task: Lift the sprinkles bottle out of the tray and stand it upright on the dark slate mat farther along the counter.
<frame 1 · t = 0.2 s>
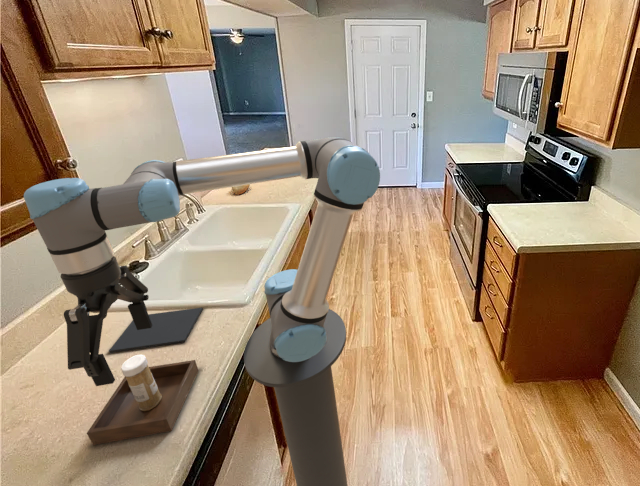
hand: (127, 352, 66), 22 cm above the worktop, tool pointing down, fingers open, 13 cm apart
tray: (151, 403, 79), on the worktop
sprinkles bottle: (151, 403, 79), resting on tray
mat: (159, 329, 102), on the worktop
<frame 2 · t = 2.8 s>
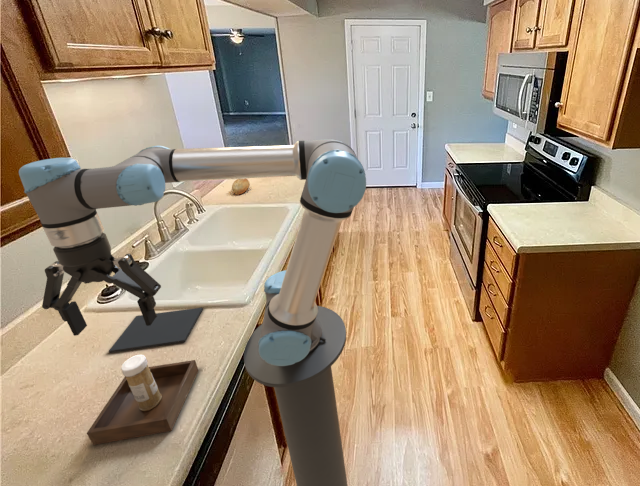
hand: (116, 325, 70), 25 cm above the worktop, tool pointing down, fingers open, 13 cm apart
nothing on the worktop moved.
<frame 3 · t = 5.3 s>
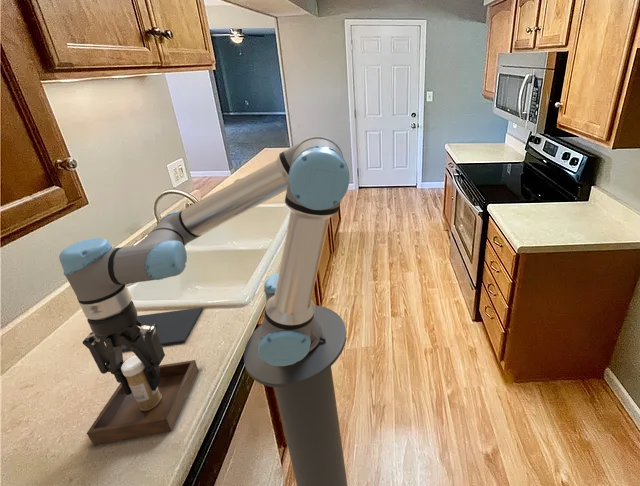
hand: (144, 387, 77), 6 cm above the worktop, tool pointing down, fingers closed on sprinkles bottle, 5 cm apart
sprinkles bottle: (151, 403, 79), resting on tray, touching gripper
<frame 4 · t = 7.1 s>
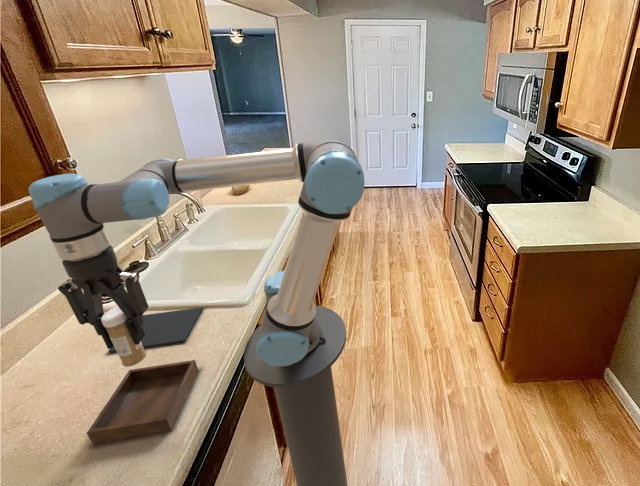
hand: (126, 341, 73), 19 cm above the worktop, tool pointing down, fingers closed on sprinkles bottle, 5 cm apart
sprinkles bottle: (135, 359, 75), point 14 cm above the worktop, touching gripper
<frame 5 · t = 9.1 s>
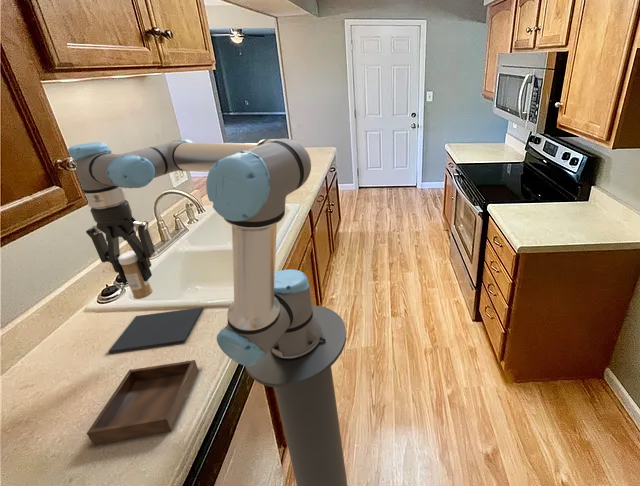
hand: (137, 279, 92), 21 cm above the worktop, tool pointing down, fingers closed on sprinkles bottle, 5 cm apart
sprinkles bottle: (143, 295, 94), point 15 cm above the worktop, touching gripper
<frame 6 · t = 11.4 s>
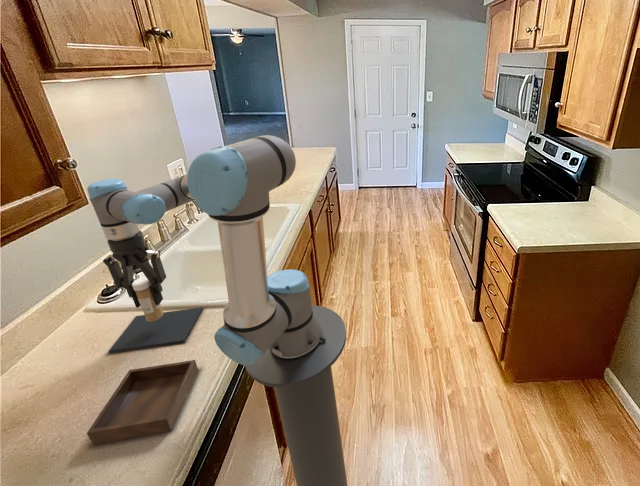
hand: (149, 303, 98), 10 cm above the worktop, tool pointing down, fingers closed on sprinkles bottle, 5 cm apart
sprinkles bottle: (155, 317, 100), point 5 cm above the worktop, touching gripper
when the fingers open (6 cm above the worktop, at t = 12.7 s): sprinkles bottle stays where it is, resting on mat.
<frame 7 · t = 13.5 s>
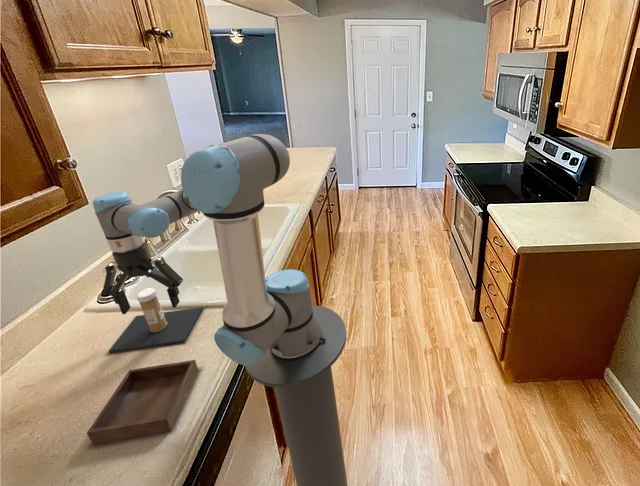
hand: (151, 307, 99), 8 cm above the worktop, tool pointing down, fingers open, 13 cm apart
sprinkles bottle: (159, 327, 102), point 1 cm above the worktop, touching mat
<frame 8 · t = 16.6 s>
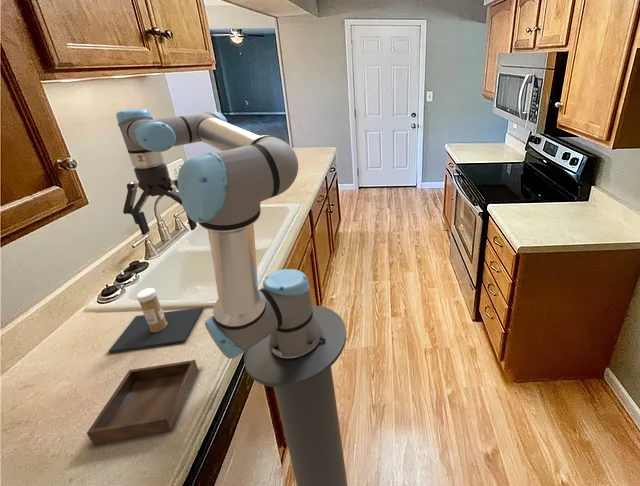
hand: (170, 230, 101), 29 cm above the worktop, tool pointing down, fingers open, 13 cm apart
nothing on the worktop moved.
at the end: sprinkles bottle inside the target area on the mat (0.0 cm from its centre), point 0.6 cm above the mat's base; sprinkles bottle tilted 0°; sprinkles bottle touching mat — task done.
